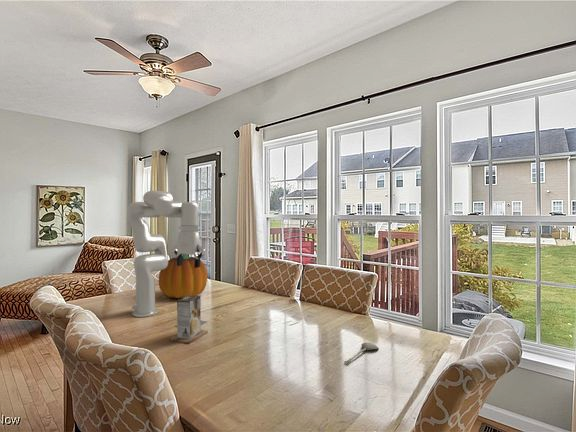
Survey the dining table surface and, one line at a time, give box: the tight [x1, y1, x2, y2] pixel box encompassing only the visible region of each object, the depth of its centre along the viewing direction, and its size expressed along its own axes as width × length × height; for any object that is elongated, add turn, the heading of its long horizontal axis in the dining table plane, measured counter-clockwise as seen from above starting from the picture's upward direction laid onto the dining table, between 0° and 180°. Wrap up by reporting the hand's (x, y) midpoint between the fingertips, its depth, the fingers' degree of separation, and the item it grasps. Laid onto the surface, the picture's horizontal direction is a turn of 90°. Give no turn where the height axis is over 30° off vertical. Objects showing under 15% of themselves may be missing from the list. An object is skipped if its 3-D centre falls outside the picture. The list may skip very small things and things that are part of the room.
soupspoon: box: [343, 341, 380, 366], centre depth 120 cm, size 22×3×7 cm
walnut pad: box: [169, 329, 209, 345], centre depth 137 cm, size 10×13×1 cm
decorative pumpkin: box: [158, 254, 208, 299], centre depth 204 cm, size 30×30×30 cm
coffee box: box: [176, 295, 202, 339], centre depth 137 cm, size 9×6×16 cm
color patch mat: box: [175, 320, 208, 328], centre depth 152 cm, size 11×11×1 cm
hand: (188, 266), depth 143 cm, fingers open, 9 cm apart
